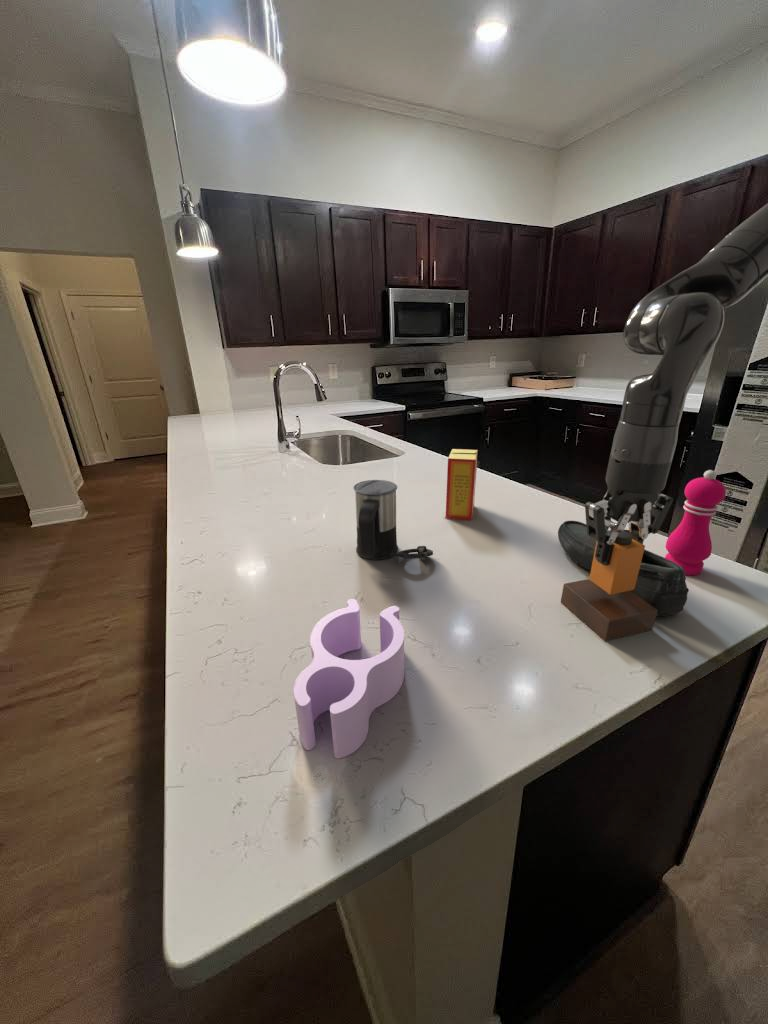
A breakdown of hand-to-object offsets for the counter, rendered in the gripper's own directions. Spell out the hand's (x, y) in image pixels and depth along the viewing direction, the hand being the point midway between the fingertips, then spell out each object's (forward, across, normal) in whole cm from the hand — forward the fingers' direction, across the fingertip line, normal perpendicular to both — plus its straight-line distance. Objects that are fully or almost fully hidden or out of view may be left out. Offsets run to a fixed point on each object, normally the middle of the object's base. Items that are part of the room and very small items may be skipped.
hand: (616, 559), depth 65 cm
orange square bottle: (0, 0, 0) cm, 0 cm away
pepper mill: (+11, -26, -8) cm, 29 cm away
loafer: (+11, -10, -10) cm, 18 cm away
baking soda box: (+11, +4, -47) cm, 48 cm away
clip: (+11, +43, +3) cm, 45 cm away
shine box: (+11, 0, 0) cm, 11 cm away
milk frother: (+11, +27, -30) cm, 42 cm away
